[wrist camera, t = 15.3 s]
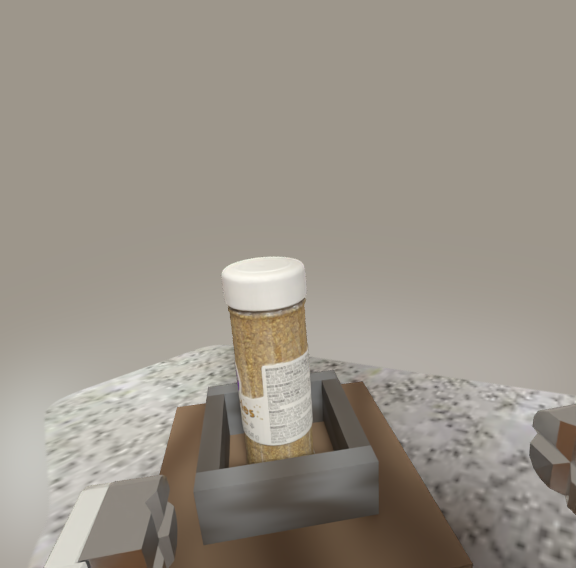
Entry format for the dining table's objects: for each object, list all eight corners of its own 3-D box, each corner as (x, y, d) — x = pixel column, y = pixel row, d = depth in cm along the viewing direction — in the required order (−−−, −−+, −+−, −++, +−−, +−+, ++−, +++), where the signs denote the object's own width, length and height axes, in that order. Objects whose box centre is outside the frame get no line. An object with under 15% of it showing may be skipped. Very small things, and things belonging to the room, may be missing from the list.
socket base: (362, 393, 33) (361, 345, 31) (471, 582, 18) (478, 505, 16) (179, 419, 31) (170, 370, 30) (123, 652, 16) (98, 573, 15)
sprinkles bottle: (239, 453, 25) (213, 261, 21) (301, 433, 27) (287, 250, 23) (258, 506, 21) (230, 280, 17) (330, 479, 22) (319, 265, 19)
